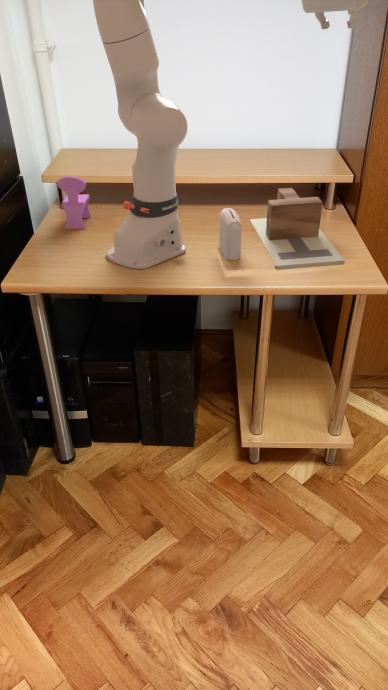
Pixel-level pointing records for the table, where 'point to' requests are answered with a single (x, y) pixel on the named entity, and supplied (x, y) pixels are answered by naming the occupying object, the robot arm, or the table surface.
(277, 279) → the table surface
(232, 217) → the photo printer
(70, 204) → the toy chair
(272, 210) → the t block
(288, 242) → the board
